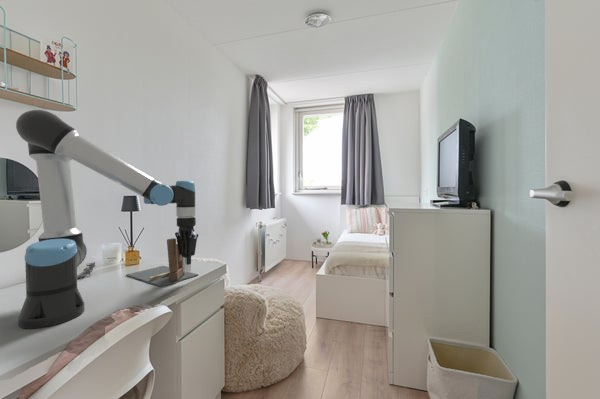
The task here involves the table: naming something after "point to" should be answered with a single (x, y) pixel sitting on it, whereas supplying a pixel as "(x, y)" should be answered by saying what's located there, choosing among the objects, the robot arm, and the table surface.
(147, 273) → the mat
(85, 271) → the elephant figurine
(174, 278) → the brown wooden bracket
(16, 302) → the table surface
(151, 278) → the kerb
